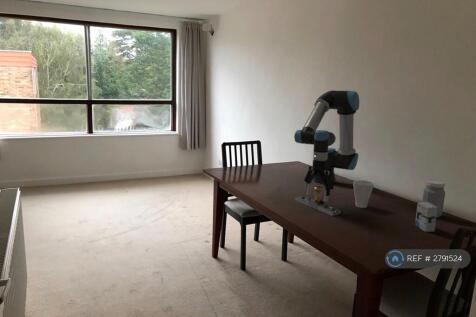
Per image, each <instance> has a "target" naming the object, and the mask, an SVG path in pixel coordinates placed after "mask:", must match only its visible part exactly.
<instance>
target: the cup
mask: <svg viewBox="0 0 476 317" xmlns="http://www.w3.org/2000/svg"><path fill="white" fill-rule="evenodd" d="M374 186H375V184H374V182H372V181H370V180H369V181H368V180H354V181H353V184H352V187H353V194H354V199H355V200H354V202H355V203H354V204H355V207H357V208H360V209H366V208H368V203H369V200H370V198H371V195H372V192H373V189H374Z"/></svg>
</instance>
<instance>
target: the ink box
mask: <svg viewBox="0 0 476 317" xmlns="http://www.w3.org/2000/svg"><path fill="white" fill-rule="evenodd" d="M437 209H438V208H437V207H436V206H434V205H432V204H430V203H428V202H422V201H418V202H417V205H416V211H415V212H416V214H415V221H414V226H416V227H417V228H419V229H420V230H422V231H423V232H426V233H427V232H429V233H430V232H431V233H432V232H433V233H434V232H435V231H436V230H435V229H436V223H437V218H436V216H437Z"/></svg>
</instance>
